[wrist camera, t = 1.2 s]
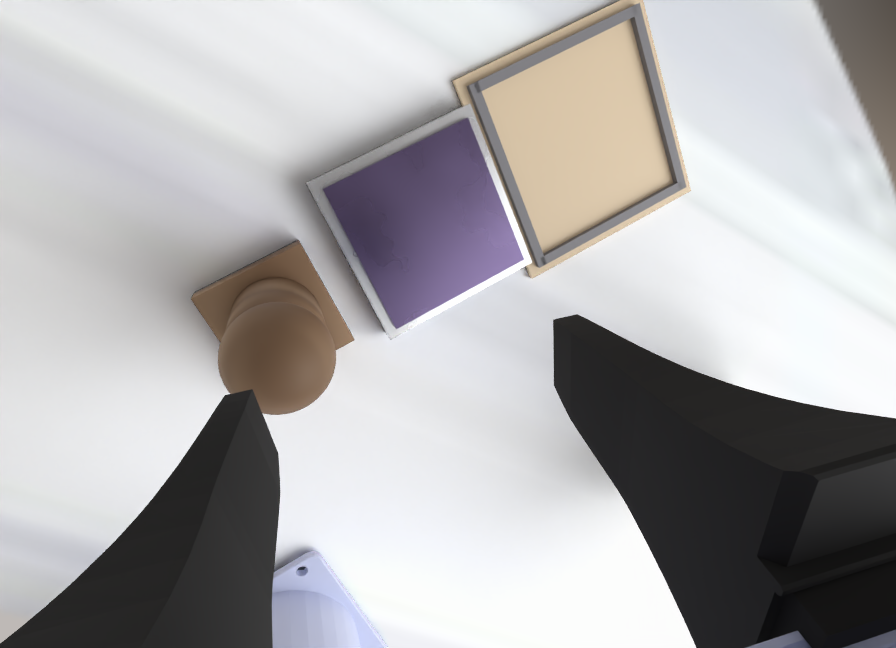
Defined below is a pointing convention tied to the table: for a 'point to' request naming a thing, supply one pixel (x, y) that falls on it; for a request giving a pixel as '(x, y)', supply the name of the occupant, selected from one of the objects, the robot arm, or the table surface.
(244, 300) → the stamp
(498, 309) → the table surface
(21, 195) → the table surface
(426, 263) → the ink pad
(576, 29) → the beige square tile
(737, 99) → the table surface
